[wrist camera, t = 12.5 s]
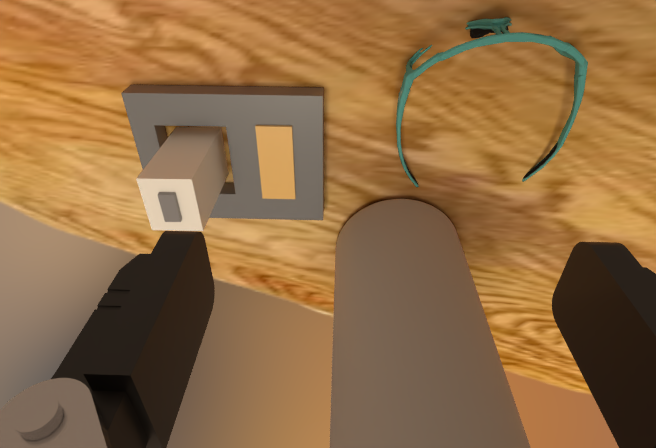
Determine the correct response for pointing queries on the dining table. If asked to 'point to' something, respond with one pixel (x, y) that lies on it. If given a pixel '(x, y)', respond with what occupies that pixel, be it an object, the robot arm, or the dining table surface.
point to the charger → (184, 179)
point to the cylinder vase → (413, 339)
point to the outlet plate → (245, 142)
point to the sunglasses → (486, 27)
